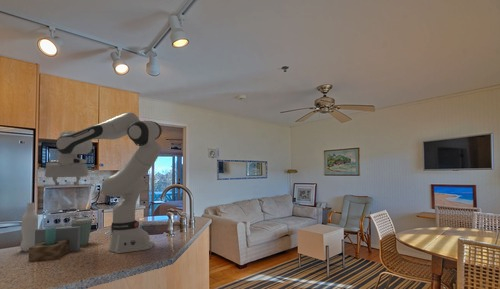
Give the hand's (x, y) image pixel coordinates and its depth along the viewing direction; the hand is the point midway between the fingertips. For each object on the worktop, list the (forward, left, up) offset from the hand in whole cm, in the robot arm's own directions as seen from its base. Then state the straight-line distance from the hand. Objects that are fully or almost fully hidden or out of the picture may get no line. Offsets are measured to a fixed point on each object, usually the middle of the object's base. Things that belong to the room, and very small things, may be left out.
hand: (66, 185), depth 148 cm
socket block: (+1, +13, -34) cm, 36 cm away
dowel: (+1, +13, -32) cm, 35 cm away
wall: (+1, +5, -34) cm, 34 cm away
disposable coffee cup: (-6, -6, -34) cm, 35 cm away
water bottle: (+18, -2, -34) cm, 39 cm away
